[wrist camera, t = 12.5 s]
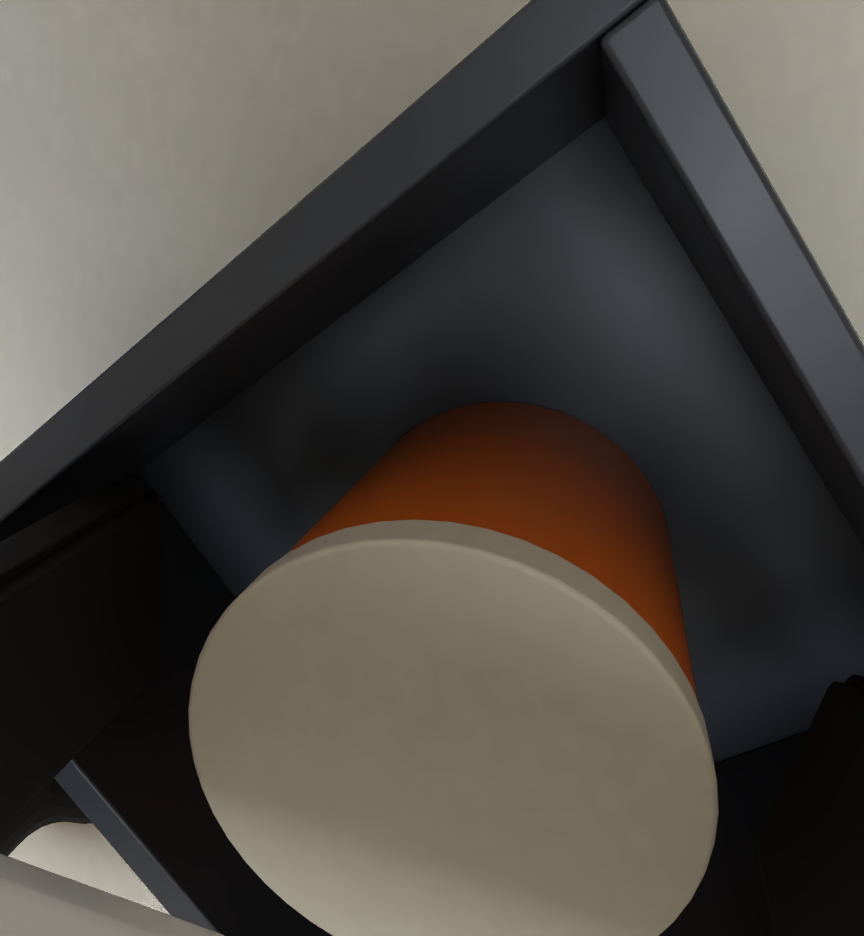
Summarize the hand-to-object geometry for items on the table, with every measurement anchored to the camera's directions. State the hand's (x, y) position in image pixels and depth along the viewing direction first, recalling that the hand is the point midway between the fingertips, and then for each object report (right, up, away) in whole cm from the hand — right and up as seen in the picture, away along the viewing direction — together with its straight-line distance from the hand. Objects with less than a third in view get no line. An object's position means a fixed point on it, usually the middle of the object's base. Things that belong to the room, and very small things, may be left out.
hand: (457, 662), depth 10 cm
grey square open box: (+1, +1, +4) cm, 4 cm away
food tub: (+1, +1, +3) cm, 4 cm away
